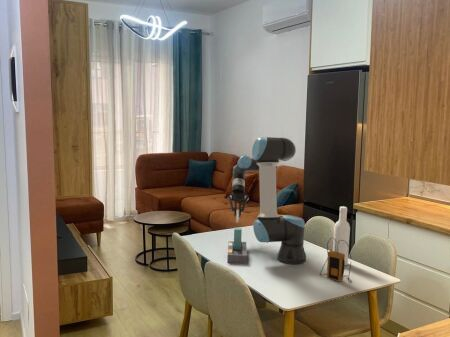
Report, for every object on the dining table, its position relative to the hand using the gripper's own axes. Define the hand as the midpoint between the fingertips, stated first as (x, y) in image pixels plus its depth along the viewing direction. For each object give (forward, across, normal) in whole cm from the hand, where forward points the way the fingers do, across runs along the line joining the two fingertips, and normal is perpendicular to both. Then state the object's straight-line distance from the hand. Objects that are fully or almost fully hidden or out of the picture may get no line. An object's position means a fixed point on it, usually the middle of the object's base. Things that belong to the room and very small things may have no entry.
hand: (237, 221), depth 254 cm
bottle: (+27, -54, +6) cm, 61 cm away
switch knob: (+17, 0, 0) cm, 17 cm away
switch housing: (+23, 0, +2) cm, 23 cm away
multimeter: (+42, -49, +21) cm, 67 cm away
